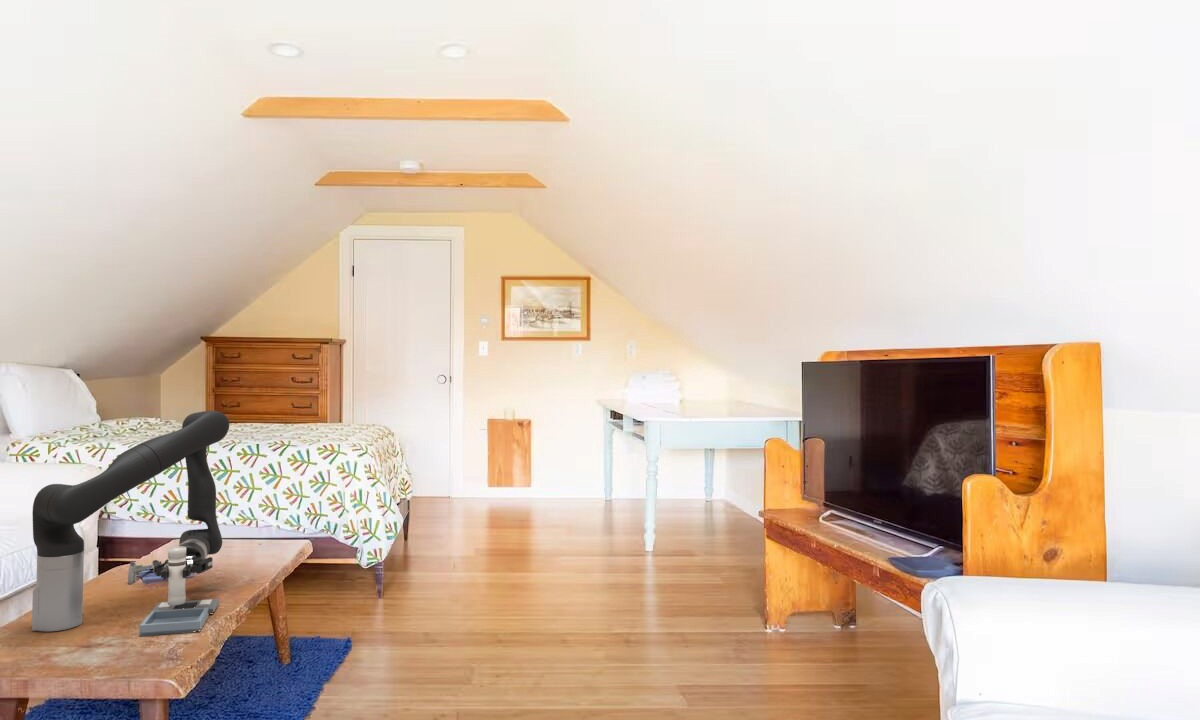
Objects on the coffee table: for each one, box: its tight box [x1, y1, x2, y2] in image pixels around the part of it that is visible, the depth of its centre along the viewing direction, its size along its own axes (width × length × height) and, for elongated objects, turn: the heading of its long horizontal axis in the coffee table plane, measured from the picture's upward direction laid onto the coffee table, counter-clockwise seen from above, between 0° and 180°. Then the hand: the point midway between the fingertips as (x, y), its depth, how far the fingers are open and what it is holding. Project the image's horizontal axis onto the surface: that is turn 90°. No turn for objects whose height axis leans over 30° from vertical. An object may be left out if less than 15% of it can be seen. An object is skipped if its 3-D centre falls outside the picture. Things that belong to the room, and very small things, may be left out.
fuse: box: [167, 545, 187, 605], centre depth 190 cm, size 4×4×13 cm
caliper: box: [127, 561, 153, 585], centre depth 234 cm, size 20×1×6 cm, turn 9°
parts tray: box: [139, 608, 209, 637], centre depth 190 cm, size 12×11×2 cm
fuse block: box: [151, 598, 220, 614], centre depth 201 cm, size 14×9×2 cm, turn 107°
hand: (174, 574), depth 187 cm, fingers closed on fuse, 3 cm apart
